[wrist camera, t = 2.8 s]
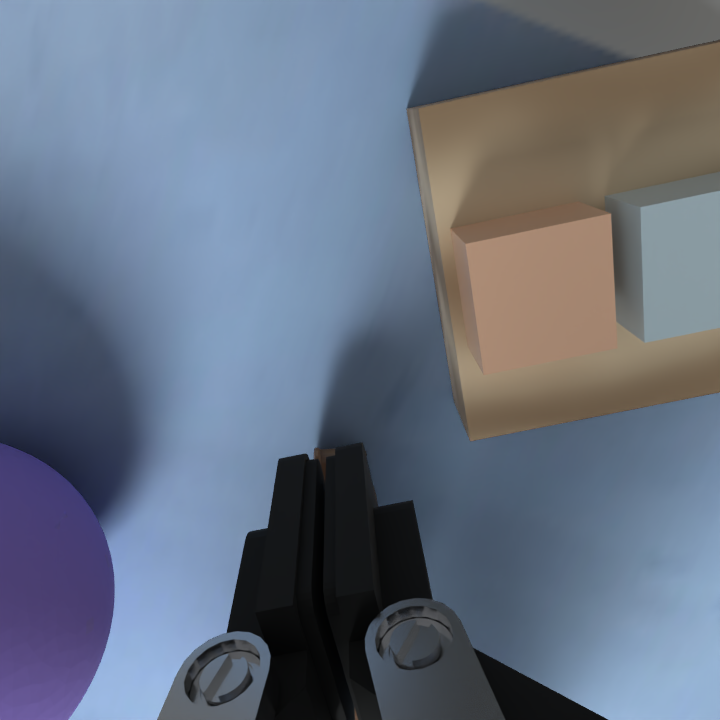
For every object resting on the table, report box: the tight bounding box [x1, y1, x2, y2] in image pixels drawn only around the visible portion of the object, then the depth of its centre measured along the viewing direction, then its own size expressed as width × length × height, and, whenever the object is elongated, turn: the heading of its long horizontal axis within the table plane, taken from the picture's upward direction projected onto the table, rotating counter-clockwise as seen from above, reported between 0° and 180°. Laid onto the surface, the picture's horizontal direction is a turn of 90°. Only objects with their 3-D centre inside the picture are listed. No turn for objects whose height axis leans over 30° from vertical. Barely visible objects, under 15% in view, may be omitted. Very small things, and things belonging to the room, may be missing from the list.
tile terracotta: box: [450, 201, 618, 375], centre depth 23 cm, size 5×5×3 cm
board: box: [407, 40, 720, 441], centre depth 26 cm, size 14×14×4 cm
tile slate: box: [605, 172, 720, 343], centre depth 23 cm, size 5×5×3 cm
